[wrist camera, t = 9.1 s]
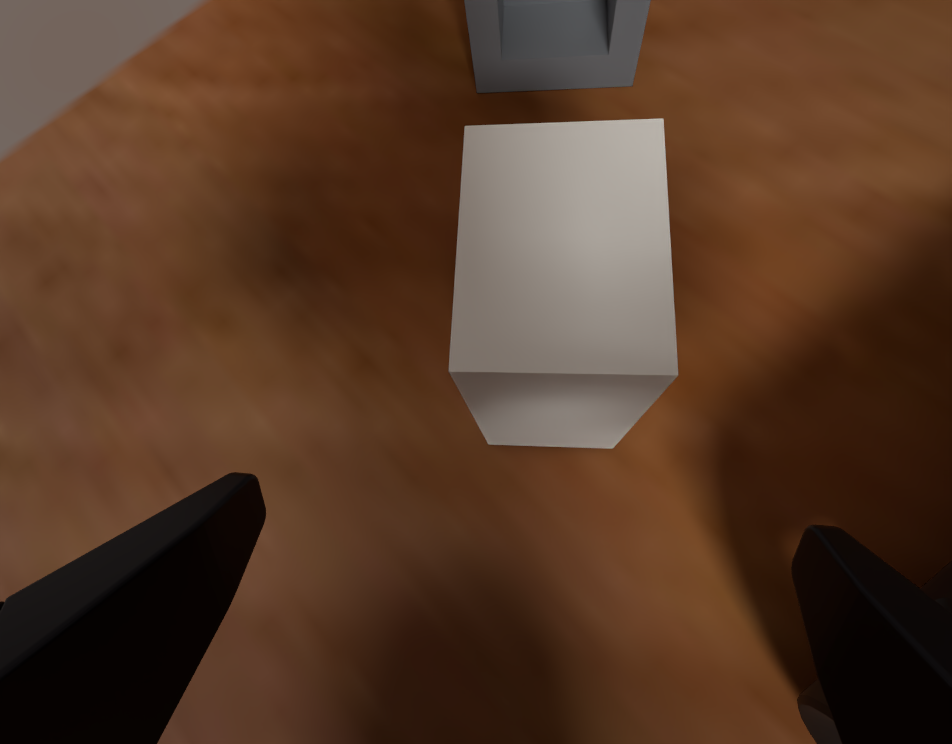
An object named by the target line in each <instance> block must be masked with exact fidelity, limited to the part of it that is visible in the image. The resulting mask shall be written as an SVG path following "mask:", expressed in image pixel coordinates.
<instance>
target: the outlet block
mask: <svg viewBox="0 0 952 744" xmlns="http://www.w3.org/2000/svg"><path fill="white" fill-rule="evenodd" d="M650 1H651V0H464V2H465V9H466V17H467V24H468V31H469V39H470V46H471V53H472V61H473V68H474V75H475V83H476V90H477V93H489V92H512V91H534V90H557V89H580V88H603V87H625V86H632V85H633V80H634V76H635V71H636V66H637V62H638V57H639V52H640V48H641V43H642V38H643V34H644V29H645V24H646V19H647V15H648V10H649V5H650Z"/></svg>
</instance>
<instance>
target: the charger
mask: <svg viewBox="0 0 952 744" xmlns="http://www.w3.org/2000/svg"><path fill="white" fill-rule="evenodd" d="M449 373H450V375H451V377H452V379H453V381H454V382H455V384H456V386H457V388H458V390H459V392H460V393H461V395H462V397H463V399H464V401H465V403H466V404H467V406H468V408H469V410H470V412H471V413H472V415H473V417H474V419H475V421H476V423H477V424H478V426H479V428H480V430H481V432H482V434H483V435H484V437H485V439H486V441H487V443H488V445H518V446H549V447H580V448H611V449H613V448H614V447H615V446H616V444H617V443H618V442H619V441H620V440H621V439H622V438H623V437H624V435H625V434H626V433H627V432H628V431H629V430H630V429H631V428H632V427H633V425H634V424H635V423H636V422H637V421H638V420H639V419H640V418H641V416H642V415H643V414H644V413H645V412H646V411H647V410H648V409H649V408H650V406H651V405H652V404H653V403H654V402H655V401H656V400H657V399H658V397H659V396H660V395H661V394H662V393H663V392H664V391H665V390H666V389H667V387H668V386H669V385H670V384H671V383H672V382H673V381H674V380H675V379H676V377H677V376H678V361H677V344H676V327H675V310H674V292H673V275H672V258H671V241H670V224H669V206H668V189H667V172H666V155H665V137H664V120H663V119H637V120H610V121H583V122H555V123H528V124H501V125H474V126H465V129H464V144H463V160H462V175H461V190H460V205H459V220H458V236H457V251H456V266H455V281H454V297H453V312H452V327H451V342H450V357H449Z"/></svg>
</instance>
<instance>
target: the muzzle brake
mask: <svg viewBox="0 0 952 744" xmlns="http://www.w3.org/2000/svg"><path fill="white" fill-rule="evenodd" d="M920 589H921V590H922V591H924V592H925V593H926V594H927V595H929V596H930V597H931V598H933V599H934V600H935V601H937V602H938V603H939V604H941V605H942V606H943V607H945V608H946V609H947V610H948V611H950V612H951V613H952V561H951V562H950V563H949V564H948V565H946V566H945V567H944V568H943V569H942V570H941V571H940V572H939V573H937V574H936V575H935V576H934V577H933V578H932V579H931V580H929V581H928V582H927V583H926V584H925V585H924V586H923V587H921V588H920ZM797 701H798V709H799V712H800V715H801V718H802V720H803V722H804V723H805V725H806V727H807V729H808V731H809V732H810V734H811V735H812V737H813V738H814V740H815V741H816V743H817V744H842V742H841V740H840V737H839V734H838V732H837V729H836V726H835V723H834V721H833V718H832V715H831V713H830V710H829V707H828V704H827V702H826V699H825V696H824V694H823V691H822V688H821V685H820V682H819V679H817V680H816V681H815V682H814V683H812V684H811V685H810V686H809V687H808V688H807V689H806V690H805V691H803V692H802V693H801V694H800V695H799V697H798V699H797Z"/></svg>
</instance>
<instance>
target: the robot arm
mask: <svg viewBox="0 0 952 744" xmlns="http://www.w3.org/2000/svg"><path fill="white" fill-rule="evenodd" d="M265 518H266V508H265V504H264V500H263V496H262V492H261V489H260V485H259V481H258V478H257V477H256V476H255V475H253V474H248V473H237V472H234V473H229V474H227V475H225V476H224V477H222V478H220V479H218V480H217V481H215V482H213V483H211V484H209V485H208V486H206V487H204V488H202V489H200V490H199V491H197V492H195V493H193V494H192V495H190V496H188V497H186V498H184V499H183V500H181V501H179V502H177V503H176V504H174V505H172V506H170V507H168V508H167V509H165V510H163V511H161V512H159V513H158V514H156V515H154V516H152V517H151V518H149V519H147V520H145V521H143V522H142V523H140V524H138V525H136V526H134V527H133V528H131V529H129V530H127V531H126V532H124V533H122V534H120V535H118V536H117V537H115V538H113V539H111V540H109V541H108V542H106V543H104V544H102V545H101V546H99V547H97V548H95V549H93V550H92V551H90V552H88V553H86V554H84V555H83V556H81V557H79V558H77V559H76V560H74V561H72V562H70V563H68V564H67V565H65V566H63V567H61V568H59V569H58V570H56V571H54V572H52V573H50V574H49V575H47V576H45V577H43V578H42V579H40V580H38V581H36V582H34V583H33V584H31V585H29V586H27V587H25V588H24V589H22V590H20V591H18V592H17V593H15V594H13V595H11V596H9V597H8V598H7V599H6V600H5V602H0V744H157V743H158V741H159V739H160V737H161V735H162V733H163V731H164V729H165V728H166V726H167V724H168V722H169V720H170V718H171V716H172V714H173V713H174V711H175V709H176V707H177V705H178V703H179V701H180V699H181V697H182V696H183V694H184V692H185V690H186V688H187V686H188V684H189V682H190V681H191V679H192V677H193V675H194V673H195V671H196V669H197V667H198V665H199V664H200V662H201V660H202V658H203V656H204V654H205V652H206V650H207V649H208V647H209V645H210V643H211V641H212V639H213V637H214V635H215V633H216V632H217V630H218V628H219V626H220V624H221V622H222V620H223V618H224V616H225V614H226V613H227V611H228V609H229V607H230V605H231V602H232V600H233V598H234V596H235V593H236V591H237V589H238V586H239V584H240V581H241V579H242V577H243V574H244V572H245V569H246V567H247V564H248V562H249V559H250V557H251V554H252V552H253V549H254V547H255V545H256V542H257V540H258V537H259V535H260V532H261V530H262V527H263V525H264V522H265ZM791 571H792V578H793V582H794V586H795V590H796V594H797V598H798V602H799V606H800V610H801V614H802V618H803V622H804V626H805V630H806V634H807V638H808V642H809V646H810V650H811V654H812V658H813V662H814V665H815V669H816V673H817V676H818V679H819V682H820V685H821V688H822V691H823V694H824V696H825V699H826V702H827V704H828V707H829V710H830V713H831V715H832V718H833V721H834V723H835V726H836V729H837V732H838V734H839V737H840V740H841V742H842V744H952V613H951V612H950V611H948V610H947V609H946V608H945V607H943V606H942V605H941V604H939V603H938V602H937V601H935V600H934V599H933V598H931V597H930V596H929V595H927V594H926V593H925V592H924V591H922V590H921V589H920V588H918V587H917V586H916V585H914V584H913V583H912V582H910V581H909V580H908V579H907V578H905V577H904V576H903V575H901V574H900V573H899V572H897V571H896V570H895V569H893V568H892V567H891V566H890V565H888V564H887V563H886V562H884V561H883V560H882V559H880V558H879V557H878V556H876V555H875V554H874V553H873V552H871V551H870V550H869V549H867V548H866V547H865V546H863V545H862V544H861V543H859V542H858V541H857V540H855V539H854V538H853V537H852V536H850V535H849V534H848V533H846V532H845V531H844V530H842V529H840V528H838V527H834V526H824V525H809V526H808V527H807V528H806V529H805V531H804V533H803V535H802V538H801V540H800V543H799V545H798V548H797V550H796V553H795V555H794V558H793V561H792V567H791Z"/></svg>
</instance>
